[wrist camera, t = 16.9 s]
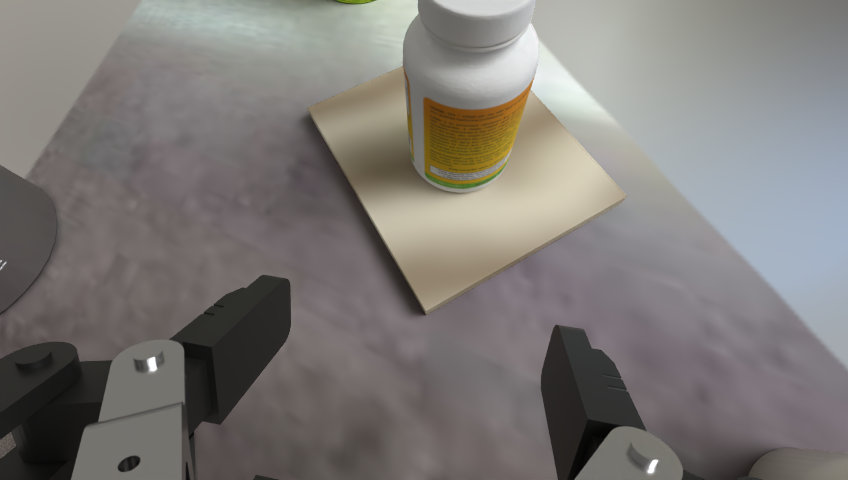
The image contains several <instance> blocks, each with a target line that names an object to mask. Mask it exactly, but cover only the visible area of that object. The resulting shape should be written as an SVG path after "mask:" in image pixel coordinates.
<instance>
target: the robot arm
mask: <svg viewBox="0 0 848 480" xmlns="http://www.w3.org/2000/svg"><path fill="white" fill-rule="evenodd" d="M56 230H57V218H56V210H55V208H54V206H53V204H52V202H51V199H50V198H49V197H48V196H47V195H46V194H45V192H44V191H43V190H42V189H40V188H39V187H37V186H35V185H34V184H32V183H30V182H29V181H27V180H25V179H23V178H22V177H20V176H18V175H17V174H15V173H13V172H11V171H10V170H8V169H6V168H5V167H3V166H1V165H0V313H1V312H2V311H4V310H5V309H7V308H8V307H9V306H10V305H11V304H12V303H13V302H14V301H15V300H17V299H18V298H19V297H20V296H21V295H22V294H23V293H24V292H25V291H26V290H27V289H28V287H29V286H30V285H31V284H32V283H33V281H34V280H35V279H36V278H37V276H38V275H39V273H40V272H41V270H42V268H43V267H44V265H45V263H46V262H47V260H48V258H49V256H50V253H51V250H52V248H53V245H54V242H55V238H56ZM290 327H291V298H290V282H289V280H288V279H285V278H279V277H274V276H268V275H262V276H260V277H259V278H258V279H256V280H255V281H254V282H253V283H252V284H250V285H249V286H248V287H247V288H240V289H238V290H236V291H233V292H231V293H229V294H226V295H225V296H223V297H222V298H221V299H220V300H218V301H217V302H216V303H215V304H214V306H211V307H210V308H208V309H207V310H206V311H205V312H204V314H201V315H200V316H198V317H197V318H196V319H195V320H193V321H192V322H191V323H190V324H188V325H187V326H186V327H185V328H183V329H182V330H181V331H180V332H178V333H177V334H176V335H175V336H173V337H172V338H171V339H170V340H163V339H161V340H151V341H146V342H143V343H139V344H136V345H134V346H132V347H130V348H127V349H126V350H124V351H122V352H121V353H120V354H119V355H117V356H116V357H115V358H114V360H110V361H86V362H80V361H79V357H78V353H77V349H76V348H75V346H73V345H72V344H69V343H65V342H48V343H41V344H37V345H32V346H29V347H26V348H23V349H20V350H18V351H15V352H13V353H11V354H9V355H7V356H5V357H4V358H2V359H0V439H2V438H3V437H4V436H6V435H7V434H8V433H10V432H11V433H12V435H13V438H14V441H15V443H16V447H15V448H13V449H12V450H11V451H10V452H9V453H7V454H6V455H5V456H4V457H2V458H1V459H0V480H198V475H197V450H196V434H195V429H196V428H197V427H198V425H199V424H200V423H201V422H202V421H205V422H209V423H214V424H219V425H220V424H221V423H222V422H223V421H224V419H225V418H226V417H227V415H228V414H229V413H230V412H231V410H232V409H233V408H234V407H235V405H236V404H237V403H238V401H239V400H240V399H241V398H242V396H243V395H244V394H245V393H246V391H247V390H248V389H249V387H250V386H251V385H252V384H253V382H254V381H255V380H256V379H257V377H258V376H259V375H260V373H261V372H262V371H263V370H264V368H265V367H266V366H267V365H268V363H269V362H270V361H271V359H272V358H273V357H274V356H275V354H276V353H277V352H278V351H279V349H280V348H281V347H282V345H283V344H284V343H285V341H286V339H287V337H288V335H289V331H290ZM541 392H542V397H543V402H544V408H545V413H546V418H547V423H548V429H549V434H550V439H551V445H552V450H553V455H554V460H555V466H556V471H557V476H558V480H704V479H702V478H700V477H697V476H695V475H693V474H691V473H689V472H687V471H685V470H683V468H682V465H681V462H680V460H679V459H678V457H677V456H676V454H675V453H674V452H673V451H672V449H671V448H670V447H669V446H668V445H666V444H665V443H664V442H663V441H662V440H660V439H659V438H657V437H656V436H654V435H652V434H650V433H648V432H647V431H646V429H645V427H644V425H643V422H642V420H641V418H640V416H639V414H638V412H637V410H636V408H635V406H634V403H633V401H632V399H631V397H630V395H629V393H628V392H626V387H625V384H624V382H623V380H621V376H620V374H619V372H618V370H617V368H616V365H615V363H614V362H613V361H612V360H611V359H610V358H609V357H608V356H607V355H606V354H605V353H604V352H603V351H602V350H598V349H592V348H591V345H590V343H589V341H588V338H587V336H586V333H585V331H584V330H583V329H579V328H573V327H567V326H561V325H555V327H554V329H553V332H552V335H551V339H550V342H549V346H548V350H547V354H546V357H545V361H544V365H543V369H542V375H541ZM253 480H277V479H273V478H268V477H263V476H259V475H256V476H255V478H254V479H253ZM736 480H762V479H758V478H754V477H739V478H737V479H736Z"/></svg>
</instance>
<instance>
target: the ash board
mask: <svg viewBox="0 0 848 480" xmlns="http://www.w3.org/2000/svg"><path fill="white" fill-rule="evenodd" d="M307 109H308V111H309V113H310V116H311V118H312V120H313V121H314V123H315V125H316V127H317V128H318V130H319V132H320V133H321V135H322V137H323V139H324V140H325V142H326V144H327V145H328V147H329V149H330V151H331V152H332V154H333V156H334V158H335V159H336V161H337V163H338V164H339V166H340V168H341V170H342V171H343V173H344V175H345V176H346V178H347V180H348V182H349V183H350V185H351V187H352V189H353V190H354V192H355V194H356V195H357V197H358V199H359V201H360V202H361V204H362V206H363V207H364V209H365V211H366V213H367V214H368V216H369V218H370V219H371V221H372V223H373V225H374V226H375V228H376V230H377V232H378V233H379V235H380V237H381V238H382V240H383V242H384V244H385V245H386V247H387V249H388V250H389V252H390V254H391V256H392V257H393V259H394V261H395V263H396V264H397V266H398V268H399V269H400V271H401V273H402V275H403V276H404V278H405V280H406V281H407V283H408V285H409V287H410V288H411V290H412V292H413V294H414V295H415V297H416V299H417V300H418V302H419V304H420V306H421V307H422V309H423V311H424V312H425V314H426V315H427V314H429V313H431V312H433V311H434V310H436V309H438V308H440V307H441V306H443V305H445V304H447V303H448V302H450V301H452V300H453V299H455V298H457V297H459V296H460V295H462V294H464V293H466V292H467V291H469V290H471V289H473V288H474V287H476V286H478V285H480V284H481V283H483V282H485V281H487V280H488V279H490V278H492V277H494V276H495V275H497V274H499V273H501V272H502V271H504V270H506V269H508V268H509V267H511V266H513V265H515V264H516V263H518V262H520V261H522V260H523V259H525V258H527V257H529V256H530V255H532V254H534V253H536V252H537V251H539V250H541V249H543V248H544V247H546V246H548V245H550V244H551V243H553V242H555V241H556V240H558V239H560V238H562V237H563V236H565V235H567V234H569V233H570V232H572V231H574V230H576V229H577V228H579V227H581V226H583V225H584V224H586V223H588V222H590V221H591V220H593V219H595V218H597V217H598V216H600V215H602V214H604V213H605V212H607V211H609V210H611V209H612V208H614V207H616V206H618V205H619V204H621V203H622V202H623V200H624V199H625V198H626V197H627V195H626V194H625V193H624V192H623V191H622V190H621V189H620V188H619V187H618V186H617V184H616V183H615V182H614V181H613V180H612V179H611V178H610V177H609V176H608V175H607V173H606V172H605V171H604V170H603V169H602V168H601V167H600V166H599V165H598V163H597V162H596V161H595V160H594V159H593V158H592V157H591V156H590V155H589V154H588V152H587V151H586V150H585V149H584V148H583V147H582V146H581V145H580V144H579V143H578V141H577V140H576V139H575V138H574V137H573V136H572V135H571V134H570V133H569V131H568V130H567V129H566V128H565V127H564V126H563V125H562V124H561V123H560V122H559V120H558V119H557V118H556V117H555V116H554V115H553V114H552V113H551V112H550V111H549V109H548V108H547V107H546V106H545V105H544V104H543V103H542V102H541V101H540V100H539V98H538V97H537V96H536V95H535V94H534V93H533V92H532V91H531V90H530V92H529V95H528V98H527V101H526V105H525V108H524V111H523V114H522V118H521V121H520V124H519V128H518V131H517V134H516V137H515V140H514V144H513V147H512V151H511V154H510V157H509V160H508V163H507V165H506V167H505V169H504V171H503V172H502V174H501V175H500V176H499V177H498V178H497V179H496V180H495V181H494V182H492V183H491V184H489V185H488V186H486V187H484V188H481V189H479V190H476V191H472V192H463V193H461V192H451V191H446V190H443V189H440V188H437V187H435V186H433V185H432V184H430V183H429V182H427V181H426V180H425V179H423V178H422V177H421V176H420V174H419V173H418V172H417V170H416V169H415V167H414V165H413V162H412V160H411V155H410V149H409V137H408V123H407V108H406V94H405V80H404V69H403V66H402V67H400V68H397V69H395V70H393V71H391V72H388V73H386V74H384V75H381V76H379V77H377V78H375V79H372V80H370V81H368V82H365V83H363V84H361V85H358V86H356V87H354V88H352V89H349V90H347V91H345V92H342V93H340V94H338V95H336V96H333V97H331V98H329V99H326V100H324V101H322V102H319V103H317V104H315V105H313V106H310V107H308V108H307Z"/></svg>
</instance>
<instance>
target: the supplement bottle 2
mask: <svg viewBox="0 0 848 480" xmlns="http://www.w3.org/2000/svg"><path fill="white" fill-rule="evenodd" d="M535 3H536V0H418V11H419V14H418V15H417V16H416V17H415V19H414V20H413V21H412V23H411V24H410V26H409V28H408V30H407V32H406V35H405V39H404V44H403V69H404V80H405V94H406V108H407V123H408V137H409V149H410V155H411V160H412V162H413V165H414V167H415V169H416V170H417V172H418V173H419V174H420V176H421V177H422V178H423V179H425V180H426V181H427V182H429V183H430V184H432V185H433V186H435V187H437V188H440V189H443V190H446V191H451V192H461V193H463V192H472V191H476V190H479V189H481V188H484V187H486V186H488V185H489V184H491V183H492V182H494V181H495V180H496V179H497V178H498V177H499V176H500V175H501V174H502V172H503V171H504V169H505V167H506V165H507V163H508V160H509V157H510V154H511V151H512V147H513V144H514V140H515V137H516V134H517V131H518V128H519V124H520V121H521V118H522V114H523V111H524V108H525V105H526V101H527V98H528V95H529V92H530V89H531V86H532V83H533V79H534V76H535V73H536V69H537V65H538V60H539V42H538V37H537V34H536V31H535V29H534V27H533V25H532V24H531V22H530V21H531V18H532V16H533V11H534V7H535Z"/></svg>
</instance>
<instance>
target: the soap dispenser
mask: <svg viewBox="0 0 848 480" xmlns="http://www.w3.org/2000/svg"><path fill="white" fill-rule="evenodd" d="M337 1H340V2H344V3H351V4H359V3H367V2H371V1H374V0H337Z"/></svg>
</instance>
